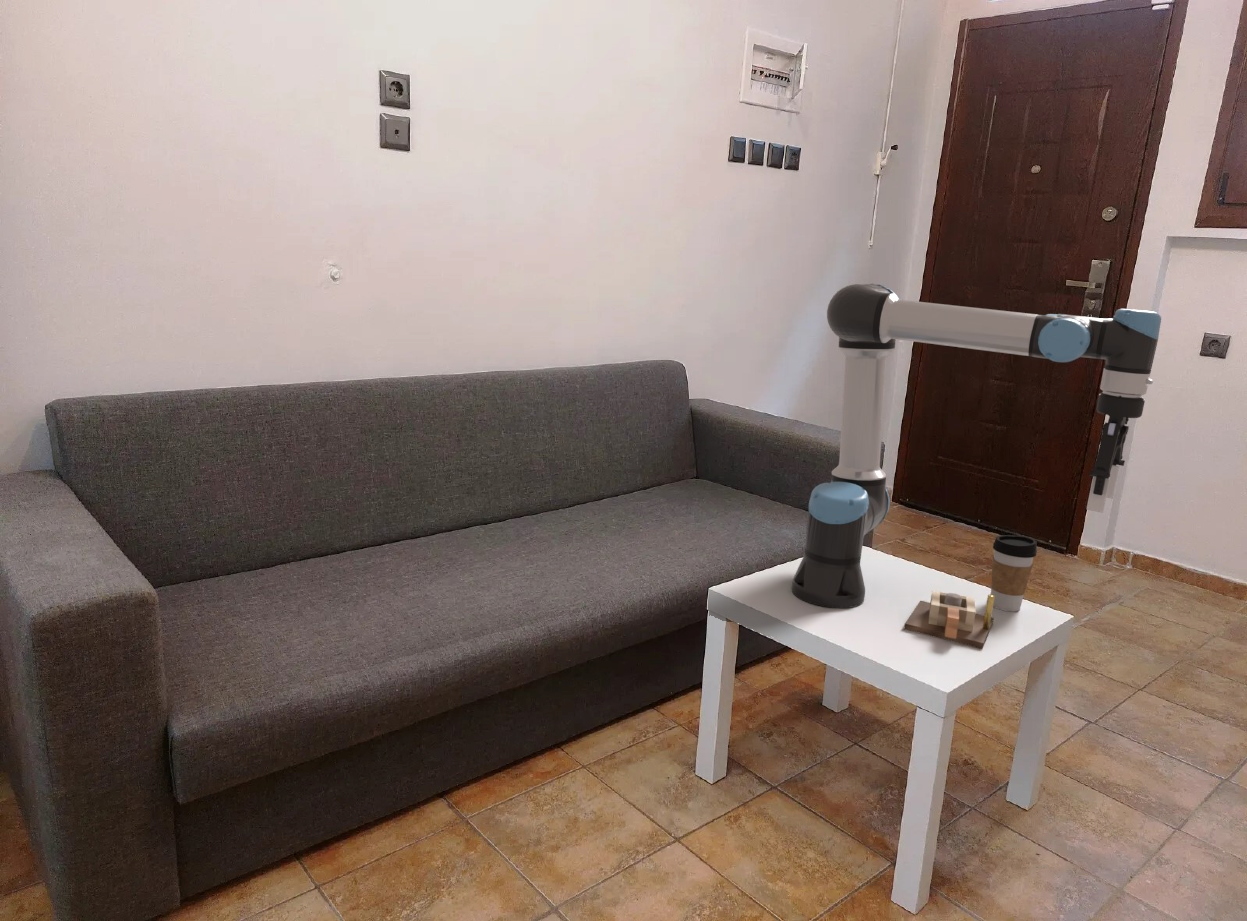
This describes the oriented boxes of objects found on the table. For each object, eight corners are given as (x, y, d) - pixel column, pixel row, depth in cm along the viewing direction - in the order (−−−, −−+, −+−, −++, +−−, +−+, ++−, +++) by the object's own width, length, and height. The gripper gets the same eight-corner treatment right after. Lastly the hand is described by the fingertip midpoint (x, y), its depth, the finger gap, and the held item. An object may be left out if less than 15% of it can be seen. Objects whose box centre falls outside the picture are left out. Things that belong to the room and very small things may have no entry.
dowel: (982, 628, 168) (987, 595, 166) (983, 626, 169) (988, 594, 167) (988, 630, 167) (994, 597, 165) (989, 628, 168) (995, 595, 166)
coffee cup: (1031, 616, 178) (1043, 547, 175) (987, 610, 180) (999, 542, 176) (1021, 601, 186) (1032, 535, 183) (980, 596, 188) (990, 530, 184)
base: (903, 629, 168) (908, 598, 167) (919, 605, 180) (923, 577, 179) (982, 649, 161) (987, 617, 160) (993, 623, 174) (998, 593, 172)
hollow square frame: (929, 609, 176) (932, 590, 175) (971, 616, 173) (974, 597, 172) (927, 633, 164) (930, 613, 163) (973, 641, 161) (976, 622, 160)
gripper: (1138, 404, 148) (1113, 521, 153) (1152, 390, 168) (1129, 495, 173) (1089, 397, 152) (1067, 512, 157) (1108, 385, 172) (1088, 487, 177)
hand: (1099, 503), depth 165 cm, fingers open, 13 cm apart
